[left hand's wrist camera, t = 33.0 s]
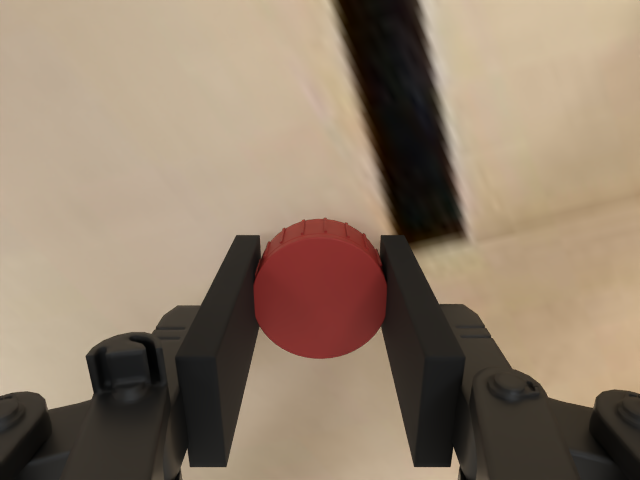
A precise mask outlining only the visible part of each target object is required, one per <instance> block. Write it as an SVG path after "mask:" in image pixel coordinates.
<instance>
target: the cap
mask: <svg viewBox="0 0 640 480" xmlns="http://www.w3.org/2000/svg"><path fill="white" fill-rule="evenodd" d="M253 287H254V305H255V317H256V320H257V322H258V324H259V326H260V327H261V329H262V330H263V332H264V333H265V334H266V335H267V336H268V338H269V339H270V340H272V341H273V342H274V343H275V344H276V345H278V346H279V347H281V348H282V349H284V350H286V351H288V352H290V353H293V354H296V355H298V356H303V357H307V358H316V359H325V358H333V357H338V356H342V355H345V354H348V353H350V352H352V351H354V350H356V349H358V348H360V347H361V346H363V345H364V344H365V343H367V342H368V341H369V340H370V339H371V338H372V337H373V336H374V335H375V334H376V332H377V331H378V330H379V328H380V327H381V325H382V323H383V321H384V319H385V313H386V297H387V282H386V279H385V275H384V272H383V269H382V262H381V259H380V256H379V253H378V250H377V249H374V247H373V245H372V244H371V243H370V241H369V240H368V239H367V238H366V235H365V234H364V233H363V234H362V233H360V232H359V231H358V230H356V229H354V228H353V227H351V226H349V225H348V223H346V222H345V224H344V223H342V222H338V221H335V220H328V219H327V218H324V219H313V220H306V221H305V220H302V222H299V223H296V224H294V225H292V226H290V227H288V228H286V229H285V228H283V229H282V232H280V233H279V234H278V235H277V236H276V237H275V238H273V240H272V241H271V242H268V243H267V247H266V249H265V251H264V253H263V256H262V258H261V259H260V260H259V263H258V266H257V270H256V273H255V281H254V285H253Z"/></svg>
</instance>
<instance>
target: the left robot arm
mask: <svg viewBox="0 0 640 480" xmlns="http://www.w3.org/2000/svg"><path fill="white" fill-rule="evenodd" d="M260 259H261V251H260V235H236V237H235V239H234V241H233V243H232V245H231V247H230V249H229V251H228V253H227V255H226V257H225V259H224V261H223V263H222V265H221V267H220V269H219V271H218V273H217V275H216V277H215V279H214V281H213V283H212V285H211V287H210V289H209V291H208V293H207V294H206V296H205V298H204V300H203V302H202V304H201V306H176V307H175V308H174V309H172V310H171V311H169V312H168V313H167V314H165V315H164V316H163V317H162V319H161V320H160V322H159V323H158V325H157V327H156V330H154V331H153V333H152V334H149V333H145V332H131V333H126V334H121V335H116V336H114V337H111V338H109V339H106V340H104V341H102V342H101V343H99V344H98V345H96V346H94V347H93V348H92V349H91V350H90V351H89V353H88V354H87V355H86V360H87V364H88V369H89V373H90V378H91V382H92V387H93V391H94V395H93V397H92V400H89V401H85V402H82V403H78V404H73V405H69V406H64V407H59V408H55V409H50V410H48V408H47V405H46V401H45V399H44V398H43V397H42V396H41V395H40V394H38V393H33V392H28V391H26V392H16V393H10V394H6V395H2V396H0V480H182V475H181V468H180V467H181V465H182V462H183V459H184V456H185V453H186V450H187V449H188V456H189V463H190V467H226V466H227V462H228V458H229V453H230V449H231V445H232V441H233V436H234V432H235V428H236V424H237V419H238V415H239V411H240V407H241V402H242V398H243V394H244V390H245V385H246V381H247V377H248V373H249V368H250V364H251V360H252V356H253V351H254V347H255V343H256V339H257V335H258V330H259V324H258V322H257V320H256V317H255V305H254V287H253V285H254V281H255V273H256V270H257V266H258V263H259V260H260ZM380 259H381V262H382V269H383V272H384V275H385V279H386V282H387V297H386V313H385V319H384V321H383V323H382V325H381V328H382V332H383V337H384V341H385V345H386V349H387V354H388V358H389V362H390V366H391V371H392V375H393V379H394V383H395V388H396V392H397V396H398V400H399V404H400V409H401V413H402V417H403V421H404V426H405V430H406V434H407V438H408V443H409V447H410V451H411V455H412V460H413V464H414V467H451V460H452V453H453V447H454V449H455V452H456V455H457V458H458V461H459V464H460V468H459V475H458V480H640V394H637V393H635V392H631V391H623V390H609V391H604V392H602V393H601V394H599V395H598V396H597V397H596V400H595V404H594V407H593V408H590V407H585V406H580V405H576V404H571V403H567V402H562V401H558V400H555V399H551V398H549V397H548V396H547V394H546V392H545V391H544V389H543V388H542V386H541V385H540V384H539V383H538V382H537V381H535V380H534V379H533V378H531V377H530V376H529V375H526V374H524V373H522V372H520V371H517V370H514V369H512V368H511V366H510V364H509V363H508V361H507V360H506V358H505V357H504V355H503V354H502V352H501V350H500V349H499V347H498V346H497V344H496V343H495V341H494V340H493V338H491V335H490V333H489V332H488V330H487V329H486V328H485V325H484V324H483V322H482V321H481V319H480V318H479V316H478V315H477V314H476V313H475V312H473V311H472V310H471V309H469V308H468V307H466V306H465V305H463V304H439V303H438V301H437V299H436V297H435V295H434V293H433V291H432V289H431V287H430V285H429V283H428V282H427V280H426V278H425V276H424V274H423V272H422V270H421V268H420V266H419V264H418V262H417V260H416V258H415V256H414V254H413V252H412V250H411V248H410V246H409V244H408V242H407V240H406V238H405V236H404V235H381V242H380Z"/></svg>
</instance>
